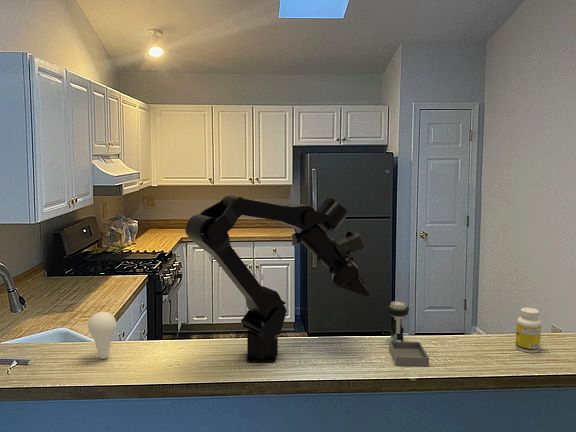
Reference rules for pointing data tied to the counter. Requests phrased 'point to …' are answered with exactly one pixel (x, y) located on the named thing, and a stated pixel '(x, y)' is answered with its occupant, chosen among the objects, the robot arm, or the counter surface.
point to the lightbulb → (102, 332)
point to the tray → (408, 354)
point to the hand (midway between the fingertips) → (365, 289)
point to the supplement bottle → (528, 331)
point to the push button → (397, 319)
